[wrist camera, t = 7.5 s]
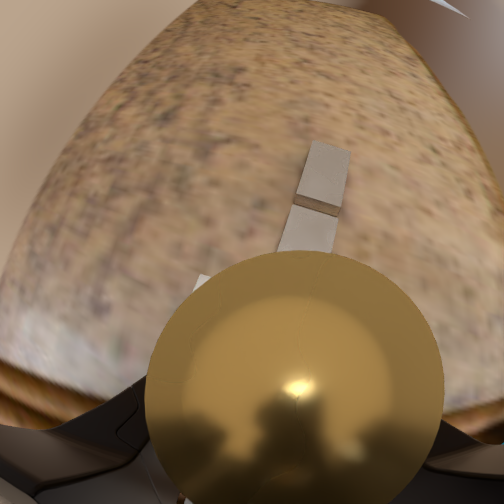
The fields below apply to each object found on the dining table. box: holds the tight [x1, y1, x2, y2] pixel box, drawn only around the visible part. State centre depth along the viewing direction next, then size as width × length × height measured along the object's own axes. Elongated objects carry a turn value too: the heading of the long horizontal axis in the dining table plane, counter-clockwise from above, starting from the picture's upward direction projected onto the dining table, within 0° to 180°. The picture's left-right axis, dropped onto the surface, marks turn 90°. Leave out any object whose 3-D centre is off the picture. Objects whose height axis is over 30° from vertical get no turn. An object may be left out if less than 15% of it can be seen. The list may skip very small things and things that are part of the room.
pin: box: [145, 250, 444, 504], centre depth 8 cm, size 4×4×12 cm
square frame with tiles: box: [184, 140, 351, 504], centre depth 14 cm, size 38×10×2 cm, turn 161°
